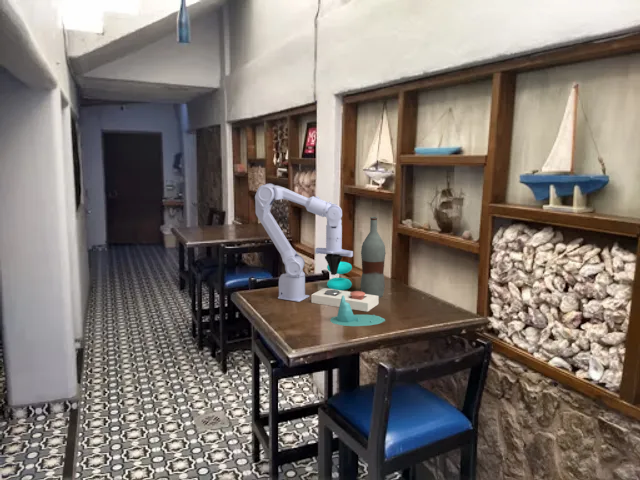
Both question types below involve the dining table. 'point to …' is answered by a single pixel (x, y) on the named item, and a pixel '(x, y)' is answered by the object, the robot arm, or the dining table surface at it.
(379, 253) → the bottle
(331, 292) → the grey plug
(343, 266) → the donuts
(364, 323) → the teal witch hat
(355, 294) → the red plug
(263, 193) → the robot arm
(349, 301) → the socket block
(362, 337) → the dining table surface
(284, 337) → the dining table surface
